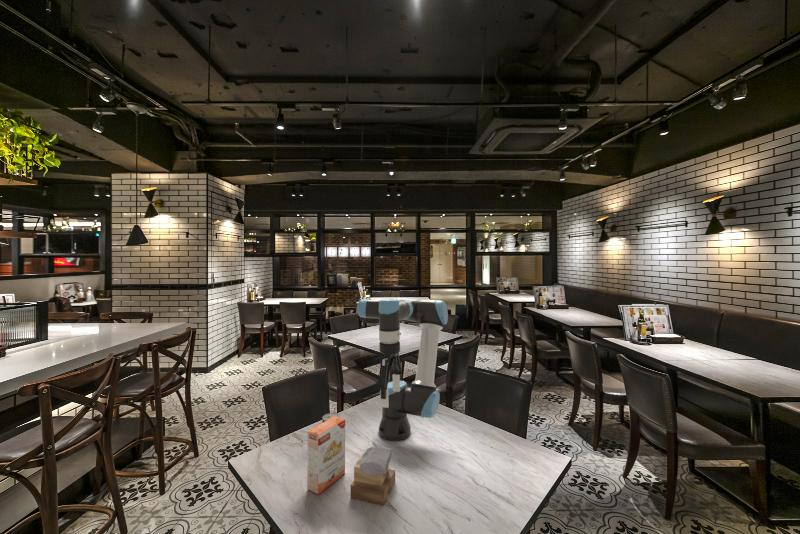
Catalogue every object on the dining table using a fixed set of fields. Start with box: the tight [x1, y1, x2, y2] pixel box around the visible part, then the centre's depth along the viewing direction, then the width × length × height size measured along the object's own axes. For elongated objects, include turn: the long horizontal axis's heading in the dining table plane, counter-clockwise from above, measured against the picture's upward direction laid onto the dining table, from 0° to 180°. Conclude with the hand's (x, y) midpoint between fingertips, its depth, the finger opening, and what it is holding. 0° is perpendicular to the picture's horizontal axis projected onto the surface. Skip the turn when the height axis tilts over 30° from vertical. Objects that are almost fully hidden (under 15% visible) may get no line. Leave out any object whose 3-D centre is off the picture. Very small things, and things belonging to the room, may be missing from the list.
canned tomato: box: [321, 412, 341, 423], centre depth 146 cm, size 8×8×11 cm
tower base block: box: [349, 469, 396, 507], centre depth 114 cm, size 12×12×5 cm
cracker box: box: [306, 416, 346, 495], centre depth 119 cm, size 14×6×21 cm, turn 148°
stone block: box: [360, 445, 393, 475], centre depth 114 cm, size 12×5×10 cm
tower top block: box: [353, 453, 390, 486], centre depth 115 cm, size 8×10×5 cm
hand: (390, 398), depth 119 cm, fingers open, 13 cm apart
